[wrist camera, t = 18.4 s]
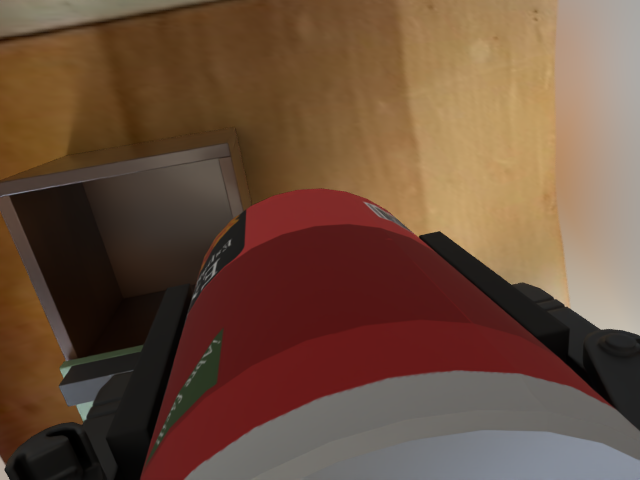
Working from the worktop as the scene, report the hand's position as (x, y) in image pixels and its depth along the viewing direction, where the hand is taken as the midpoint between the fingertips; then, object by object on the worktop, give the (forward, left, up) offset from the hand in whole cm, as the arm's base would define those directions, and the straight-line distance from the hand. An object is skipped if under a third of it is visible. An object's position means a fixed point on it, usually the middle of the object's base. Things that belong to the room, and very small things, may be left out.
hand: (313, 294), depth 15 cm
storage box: (+3, -10, -24) cm, 26 cm away
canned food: (0, 0, -1) cm, 1 cm away
